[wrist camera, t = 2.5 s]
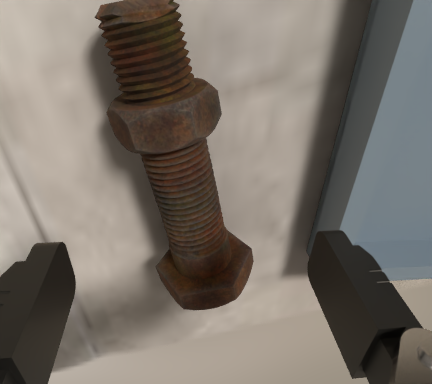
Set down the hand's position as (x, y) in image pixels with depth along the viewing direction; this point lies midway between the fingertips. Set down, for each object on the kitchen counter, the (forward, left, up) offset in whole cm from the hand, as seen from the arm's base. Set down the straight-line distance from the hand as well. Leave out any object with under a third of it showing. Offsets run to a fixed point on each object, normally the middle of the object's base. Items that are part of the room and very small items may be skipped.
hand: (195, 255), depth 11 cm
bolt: (0, +1, -9) cm, 9 cm away
